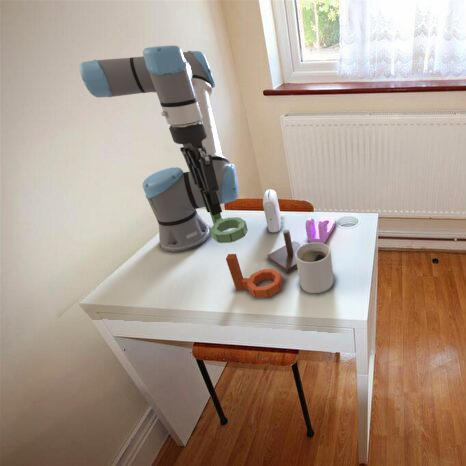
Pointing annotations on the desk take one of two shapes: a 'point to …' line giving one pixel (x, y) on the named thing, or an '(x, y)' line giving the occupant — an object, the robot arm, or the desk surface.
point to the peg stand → (285, 254)
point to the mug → (314, 267)
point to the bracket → (319, 229)
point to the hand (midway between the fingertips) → (214, 211)
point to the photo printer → (272, 211)
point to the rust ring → (254, 279)
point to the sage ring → (225, 224)
